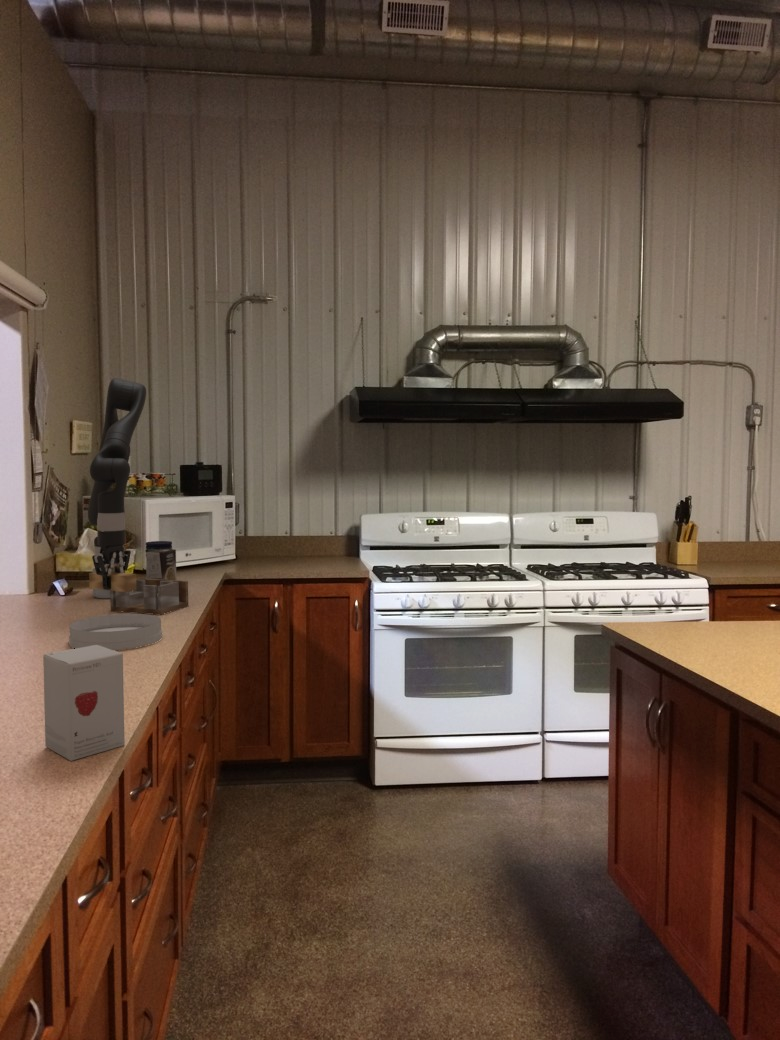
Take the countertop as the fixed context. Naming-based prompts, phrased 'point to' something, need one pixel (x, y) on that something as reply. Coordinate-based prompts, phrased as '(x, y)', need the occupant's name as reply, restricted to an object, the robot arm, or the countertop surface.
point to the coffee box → (161, 564)
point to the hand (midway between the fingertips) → (112, 587)
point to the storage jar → (158, 545)
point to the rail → (114, 582)
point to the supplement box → (83, 701)
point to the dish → (116, 631)
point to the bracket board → (151, 597)
